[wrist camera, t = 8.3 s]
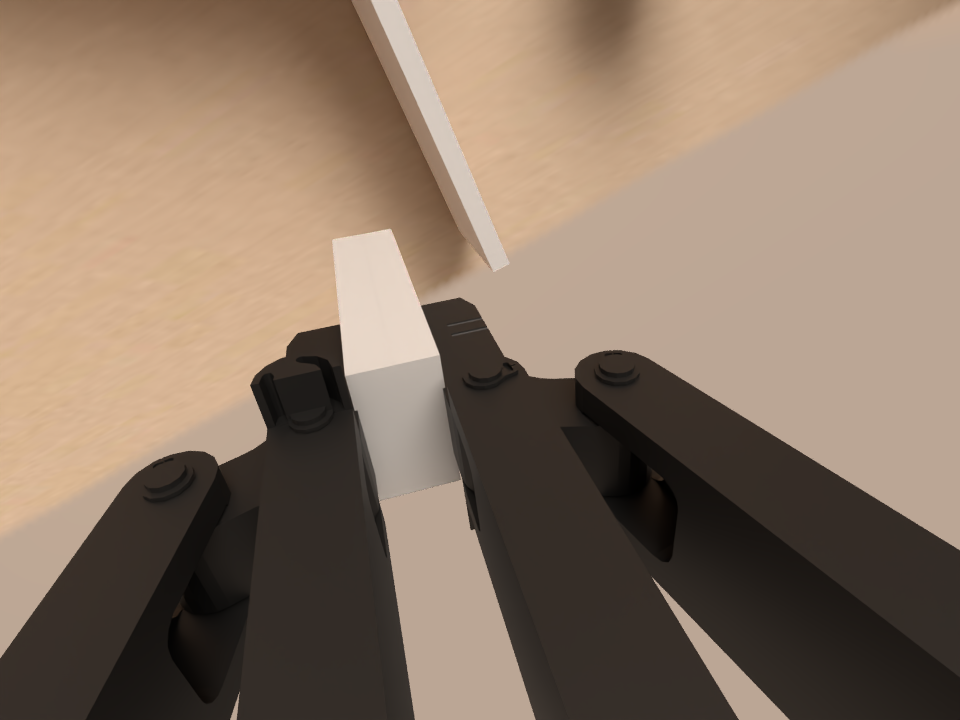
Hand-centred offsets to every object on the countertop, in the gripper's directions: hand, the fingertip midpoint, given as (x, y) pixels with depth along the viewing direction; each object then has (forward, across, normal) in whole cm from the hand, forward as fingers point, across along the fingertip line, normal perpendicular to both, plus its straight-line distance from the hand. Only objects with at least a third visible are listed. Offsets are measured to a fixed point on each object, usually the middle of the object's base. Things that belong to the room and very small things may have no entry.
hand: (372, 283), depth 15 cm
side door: (+14, +3, +3) cm, 15 cm away
